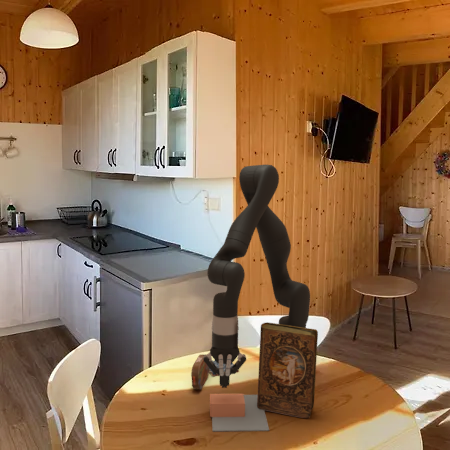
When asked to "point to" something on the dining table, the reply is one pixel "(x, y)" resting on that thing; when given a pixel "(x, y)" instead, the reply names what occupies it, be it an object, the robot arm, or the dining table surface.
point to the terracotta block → (227, 405)
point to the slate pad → (243, 419)
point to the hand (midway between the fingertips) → (224, 386)
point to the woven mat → (218, 367)
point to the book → (287, 369)
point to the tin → (199, 373)
